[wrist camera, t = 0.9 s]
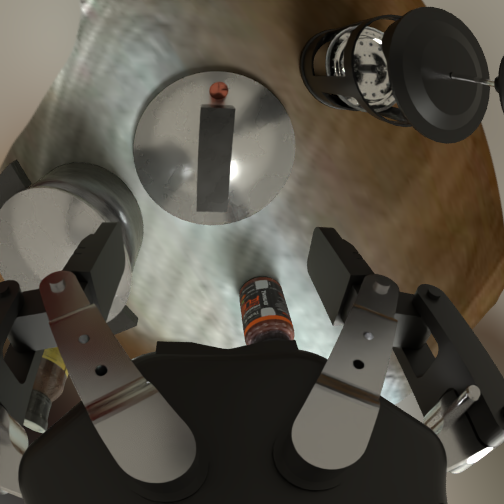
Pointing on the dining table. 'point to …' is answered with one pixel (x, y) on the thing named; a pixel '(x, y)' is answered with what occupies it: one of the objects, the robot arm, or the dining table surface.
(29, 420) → the sauce bottle
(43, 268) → the cooker pot
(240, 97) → the cooker lid
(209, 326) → the dining table surface
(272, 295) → the supplement bottle
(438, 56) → the french press
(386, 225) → the dining table surface
